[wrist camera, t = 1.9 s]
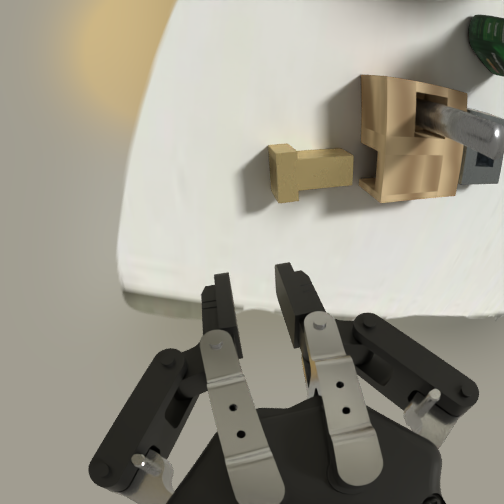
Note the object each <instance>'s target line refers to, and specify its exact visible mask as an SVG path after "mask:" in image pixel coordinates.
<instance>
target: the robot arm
mask: <svg viewBox="0 0 504 504" xmlns="http://www.w3.org/2000/svg"><path fill="white" fill-rule="evenodd" d="M214 279H215V285H211V286H205V288H204V290H203V292H202V294H201V297H202V322H203V337H202V338H201V340H200V342H199V343H198V345H196V346H195V347H193V348H191V349H189V350H187V351H184V352H182V353H181V352H180V351H179V350H177V349H171V348H170V349H165V350H162V351H161V352H159V353H158V354H157V355H156V356H155V358H154V359H153V361H152V362H151V364H150V366H149V367H148V368H147V370H146V372H145V373H144V375H143V376H142V378H141V380H140V381H139V383H138V385H137V386H136V388H135V389H134V391H133V392H132V394H131V396H130V397H129V399H128V400H127V402H126V404H125V405H124V407H123V409H122V410H121V412H120V413H119V415H118V417H117V418H116V420H115V422H114V423H113V425H112V427H111V428H110V430H109V432H108V433H107V435H106V437H105V438H104V440H103V442H102V443H101V445H100V447H99V448H98V450H97V452H96V453H95V455H94V457H93V458H92V460H91V462H90V464H89V475H90V478H91V479H92V481H93V482H94V483H95V484H97V485H98V486H100V487H103V488H106V489H108V490H109V491H112V492H114V493H117V494H120V495H123V496H126V497H127V498H129V499H131V500H133V501H134V502H136V503H138V504H446V503H445V501H444V500H443V498H442V495H441V489H440V475H441V467H442V459H441V454H440V452H439V450H438V449H439V447H440V446H441V445H442V443H443V441H444V440H445V439H446V437H447V436H448V434H449V433H450V431H451V430H452V428H453V427H454V425H455V423H456V422H457V420H458V419H459V418H460V417H461V416H462V415H463V414H464V413H465V412H467V410H468V409H470V408H471V406H473V405H474V404H475V403H476V402H477V400H478V397H479V390H478V387H477V385H476V384H475V382H473V381H472V380H471V379H469V378H468V377H467V376H465V375H464V374H462V373H461V372H459V371H458V370H457V369H455V368H454V367H452V366H451V365H449V364H448V363H446V362H445V361H444V360H442V359H441V358H439V357H438V356H436V355H435V354H433V353H432V352H430V351H429V350H428V349H426V348H425V347H423V346H422V345H420V344H419V343H417V342H416V341H414V340H413V339H411V338H410V337H409V336H407V335H405V334H404V333H403V332H401V331H399V330H398V329H397V328H395V327H394V326H392V325H391V324H389V323H388V322H386V321H385V320H383V319H382V318H380V317H379V316H377V315H375V314H373V313H362V314H360V315H358V316H357V317H356V318H355V320H354V321H342V320H337V319H334V317H333V316H332V315H330V314H329V313H327V312H326V311H325V309H324V307H323V305H322V303H321V301H320V299H319V297H318V295H317V292H316V290H315V288H314V286H313V285H312V282H311V280H310V278H309V276H308V275H307V274H305V273H304V272H303V271H302V270H301V271H295V272H294V270H293V268H292V266H291V264H290V262H288V263H282V264H277V265H275V281H276V293H277V298H278V301H279V304H280V307H281V310H282V314H283V317H284V320H285V323H286V326H287V329H288V332H289V335H290V338H291V341H292V344H293V347H294V348H299V347H300V349H301V352H302V357H301V359H302V365H303V371H304V377H305V382H306V388H307V400H305V401H303V402H301V403H299V404H297V405H295V406H292V407H290V408H286V409H281V408H258V409H255V406H254V403H253V400H252V397H251V394H250V391H249V388H248V385H247V382H246V379H245V376H244V375H243V372H242V369H241V366H240V363H239V359H241V358H243V355H242V349H241V343H240V337H239V331H238V325H237V319H236V313H235V307H234V301H233V295H232V289H231V284H230V278H229V272H227V273H221V274H215V275H214ZM357 375H359V376H360V377H361V378H362V379H364V380H365V381H366V382H368V383H369V384H370V385H371V386H373V387H374V388H375V389H376V390H378V391H379V392H380V393H382V394H383V395H384V396H385V397H387V398H388V399H389V400H391V401H392V402H393V403H395V404H396V405H397V406H398V407H400V408H401V409H402V410H404V419H405V421H406V424H407V425H408V426H410V427H411V429H412V431H411V430H409V429H407V428H406V427H404V426H402V425H400V424H398V423H396V422H395V421H393V420H391V419H389V418H387V417H385V416H384V415H382V414H380V413H378V412H377V411H375V410H373V409H371V408H370V407H368V406H366V404H365V401H364V397H363V394H362V390H361V387H360V383H359V380H358V377H357ZM206 391H208V394H209V398H210V402H211V407H212V411H213V415H214V419H215V423H216V427H217V432H216V433H215V435H214V436H213V438H212V439H211V441H210V442H209V444H208V445H207V447H206V448H205V450H204V451H203V452H202V454H201V455H200V457H199V458H198V460H197V461H196V463H195V464H194V465H193V467H192V468H191V470H190V471H189V472H188V474H187V475H186V477H185V478H184V479H183V481H182V482H181V483H180V485H179V486H178V488H177V489H176V490H175V491H174V490H173V488H172V483H171V482H172V477H173V467H172V465H171V463H170V462H169V461H168V460H167V458H168V456H169V454H170V452H171V450H172V449H173V447H174V445H175V442H176V441H177V439H178V437H179V435H180V433H181V431H182V429H183V427H184V425H185V423H186V421H187V419H188V417H189V415H190V413H191V411H192V409H193V407H194V405H195V403H196V401H197V399H198V397H199V394H201V393H203V392H206Z"/></svg>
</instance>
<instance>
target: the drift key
mask: <svg viewBox="0 0 504 504" xmlns="http://www.w3.org/2000/svg"><path fill="white" fill-rule="evenodd" d="M268 150H269V165H270V180H271V191H272V193H273V194H274V196H275V198H276V200H277V201H278V203H286V202H294V201H299V191H301V190H309V189H319V188H328V187H338V186H349V185H352V179H353V159H354V156H353V155H352V154H350V153H348V152H346V151H345V150H343V149H341V148H336V149H319V150H304V151H296V150H295V149H294V148H292V147H291V146H290V145H289V144H277V145H268Z"/></svg>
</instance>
